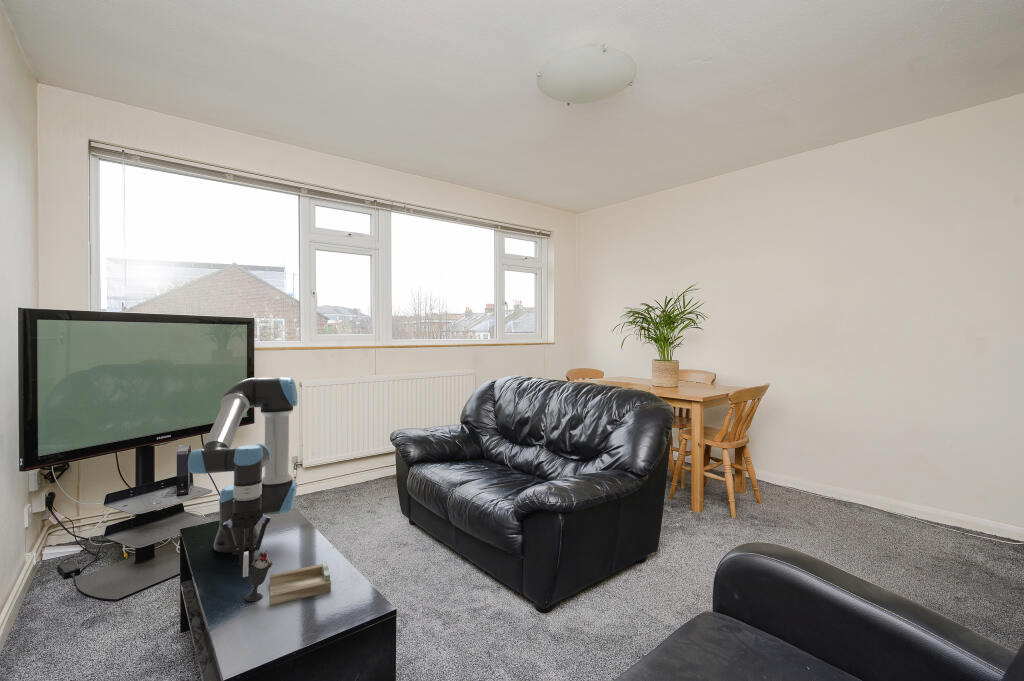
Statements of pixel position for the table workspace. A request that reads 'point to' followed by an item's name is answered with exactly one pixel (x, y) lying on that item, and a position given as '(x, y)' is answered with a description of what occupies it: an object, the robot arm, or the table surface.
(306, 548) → the table surface
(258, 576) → the sundae
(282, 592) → the rest
